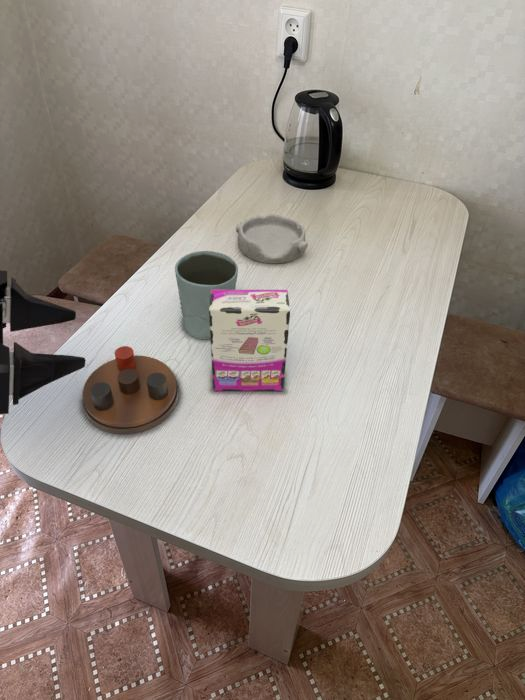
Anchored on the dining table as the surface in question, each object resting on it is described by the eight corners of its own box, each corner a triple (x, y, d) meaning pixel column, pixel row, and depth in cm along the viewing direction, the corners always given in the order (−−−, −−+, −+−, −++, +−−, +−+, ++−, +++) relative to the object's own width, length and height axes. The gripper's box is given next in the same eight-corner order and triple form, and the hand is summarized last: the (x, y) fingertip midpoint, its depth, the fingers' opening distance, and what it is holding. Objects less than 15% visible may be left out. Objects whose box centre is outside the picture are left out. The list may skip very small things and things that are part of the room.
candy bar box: (281, 369, 82) (289, 288, 71) (283, 392, 79) (292, 310, 68) (213, 368, 82) (210, 287, 71) (211, 391, 78) (208, 309, 67)
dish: (313, 260, 106) (316, 240, 102) (252, 272, 102) (252, 251, 98) (286, 226, 115) (287, 206, 112) (228, 236, 111) (228, 215, 108)
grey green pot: (171, 314, 91) (165, 258, 83) (222, 299, 95) (221, 244, 87) (193, 349, 85) (189, 292, 77) (247, 332, 89) (248, 276, 80)
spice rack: (86, 436, 70) (80, 418, 67) (81, 368, 79) (76, 349, 76) (183, 416, 73) (181, 398, 70) (168, 353, 82) (166, 335, 79)
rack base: (86, 443, 70) (84, 438, 70) (82, 373, 80) (80, 367, 79) (186, 423, 74) (185, 418, 73) (170, 357, 83) (169, 352, 82)
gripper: (-108, 319, 39) (100, 325, 47) (-82, 219, 52) (77, 236, 60) (-95, 423, 45) (87, 413, 52) (-75, 310, 58) (69, 315, 66)
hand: (80, 337), depth 57 cm, fingers open, 9 cm apart
